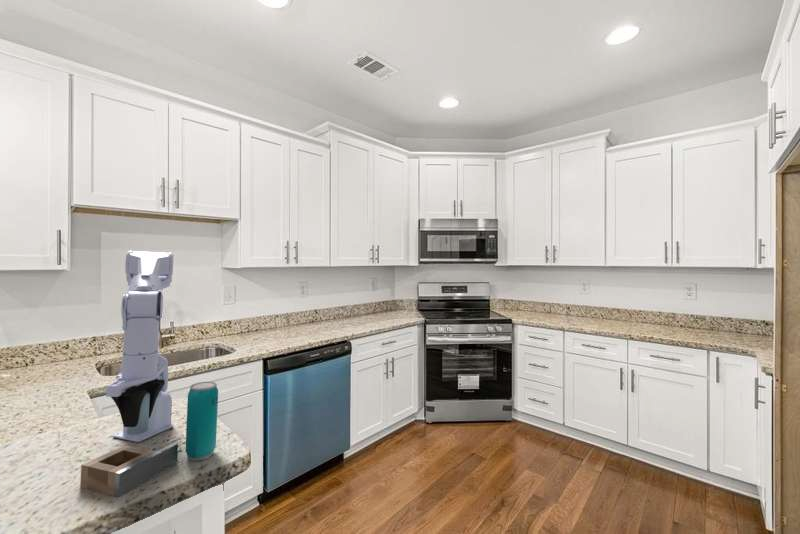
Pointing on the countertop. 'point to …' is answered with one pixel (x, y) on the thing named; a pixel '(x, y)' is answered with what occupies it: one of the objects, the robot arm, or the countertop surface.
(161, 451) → the wall
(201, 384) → the beverage can
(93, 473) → the block
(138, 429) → the dowel
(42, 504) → the countertop surface
